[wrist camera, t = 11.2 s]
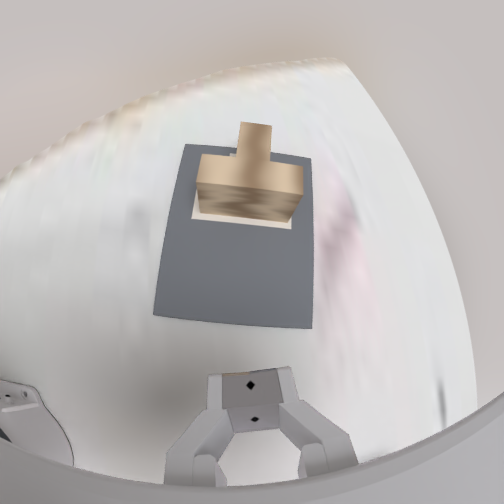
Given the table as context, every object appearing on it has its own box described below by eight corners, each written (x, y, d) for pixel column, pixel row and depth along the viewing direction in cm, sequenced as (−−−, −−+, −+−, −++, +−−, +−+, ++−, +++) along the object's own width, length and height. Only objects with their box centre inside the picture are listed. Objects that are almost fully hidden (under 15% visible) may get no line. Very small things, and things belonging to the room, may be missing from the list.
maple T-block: (200, 213, 37) (195, 182, 29) (210, 154, 40) (210, 118, 33) (287, 223, 38) (303, 194, 30) (288, 164, 41) (301, 130, 34)
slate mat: (154, 315, 33) (153, 314, 32) (185, 146, 41) (185, 143, 40) (310, 328, 35) (311, 328, 34) (309, 160, 43) (311, 158, 42)
